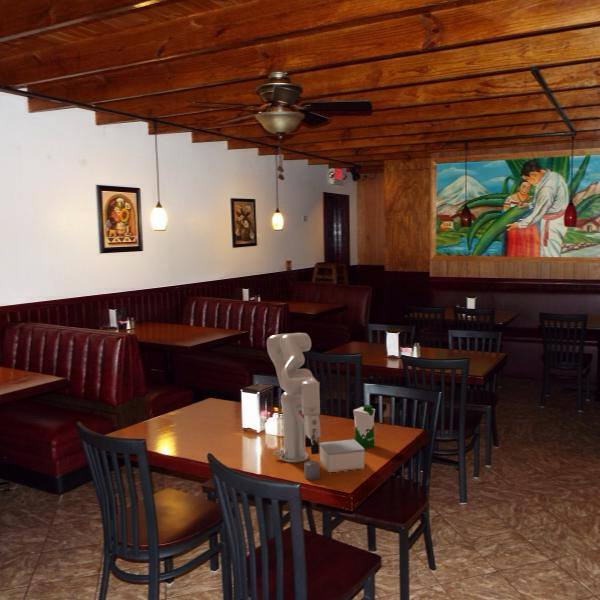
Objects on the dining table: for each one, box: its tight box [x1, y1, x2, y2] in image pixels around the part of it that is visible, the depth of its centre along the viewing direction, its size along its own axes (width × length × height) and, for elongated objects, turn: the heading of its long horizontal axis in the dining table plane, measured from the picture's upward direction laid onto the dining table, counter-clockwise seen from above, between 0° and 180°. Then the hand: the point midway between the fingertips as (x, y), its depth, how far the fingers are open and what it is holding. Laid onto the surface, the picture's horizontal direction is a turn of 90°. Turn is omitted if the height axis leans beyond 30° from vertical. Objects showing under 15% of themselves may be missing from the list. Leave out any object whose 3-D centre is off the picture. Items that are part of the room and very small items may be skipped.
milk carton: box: [352, 404, 376, 450], centre depth 295 cm, size 9×9×20 cm
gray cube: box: [303, 460, 321, 481], centre depth 258 cm, size 6×6×6 cm
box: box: [319, 445, 365, 474], centre depth 271 cm, size 16×14×8 cm
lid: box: [319, 438, 366, 455], centre depth 270 cm, size 16×14×1 cm
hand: (312, 450), depth 257 cm, fingers open, 9 cm apart
